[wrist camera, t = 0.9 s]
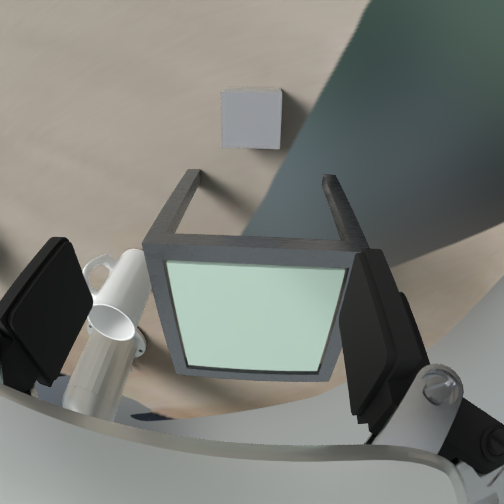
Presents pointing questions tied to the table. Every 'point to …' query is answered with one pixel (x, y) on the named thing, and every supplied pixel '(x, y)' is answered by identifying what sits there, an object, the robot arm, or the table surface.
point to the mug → (119, 294)
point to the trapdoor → (254, 313)
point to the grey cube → (251, 117)
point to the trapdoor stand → (247, 252)
